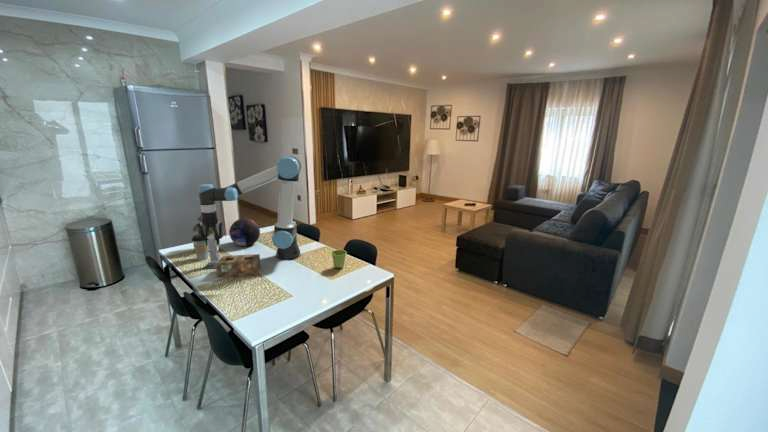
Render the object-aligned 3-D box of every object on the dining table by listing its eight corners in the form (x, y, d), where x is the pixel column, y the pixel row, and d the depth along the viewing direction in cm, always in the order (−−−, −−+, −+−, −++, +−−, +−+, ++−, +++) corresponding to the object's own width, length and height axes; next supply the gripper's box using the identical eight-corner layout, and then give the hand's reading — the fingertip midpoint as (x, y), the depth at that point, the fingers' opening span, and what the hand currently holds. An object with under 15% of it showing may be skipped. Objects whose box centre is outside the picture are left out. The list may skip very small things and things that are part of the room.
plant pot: (350, 265, 185) (349, 252, 183) (337, 270, 178) (337, 256, 176) (340, 261, 191) (340, 248, 189) (328, 265, 184) (327, 252, 182)
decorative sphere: (236, 241, 227) (233, 215, 222) (264, 241, 229) (262, 215, 224) (226, 250, 208) (223, 221, 204) (256, 249, 210) (254, 221, 206)
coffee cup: (190, 260, 189) (187, 237, 186) (204, 255, 198) (201, 233, 194) (201, 262, 186) (198, 239, 182) (214, 257, 194) (212, 235, 191)
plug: (219, 259, 183) (216, 233, 179) (217, 261, 179) (214, 235, 176) (212, 259, 182) (209, 234, 179) (210, 262, 179) (207, 236, 175)
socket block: (260, 266, 181) (259, 254, 179) (256, 275, 169) (255, 261, 167) (224, 268, 177) (222, 255, 175) (217, 277, 165) (215, 263, 163)
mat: (226, 262, 187) (226, 261, 187) (221, 268, 177) (221, 267, 177) (208, 263, 185) (208, 262, 185) (202, 269, 176) (202, 268, 176)
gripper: (226, 209, 179) (230, 247, 184) (195, 210, 176) (200, 249, 181) (222, 212, 172) (226, 251, 177) (190, 213, 169) (195, 253, 174)
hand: (213, 250), depth 179 cm, fingers closed on plug, 3 cm apart
